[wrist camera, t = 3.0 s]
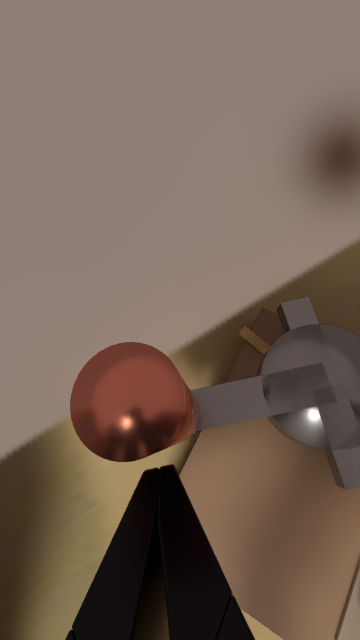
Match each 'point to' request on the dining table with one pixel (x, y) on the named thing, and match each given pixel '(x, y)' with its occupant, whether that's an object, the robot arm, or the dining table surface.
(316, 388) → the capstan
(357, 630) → the plinth
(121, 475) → the dining table surface
